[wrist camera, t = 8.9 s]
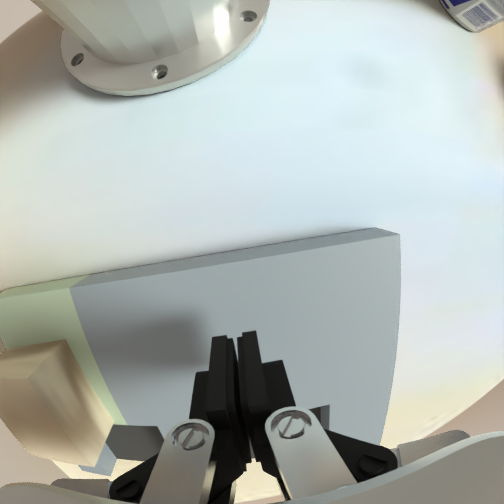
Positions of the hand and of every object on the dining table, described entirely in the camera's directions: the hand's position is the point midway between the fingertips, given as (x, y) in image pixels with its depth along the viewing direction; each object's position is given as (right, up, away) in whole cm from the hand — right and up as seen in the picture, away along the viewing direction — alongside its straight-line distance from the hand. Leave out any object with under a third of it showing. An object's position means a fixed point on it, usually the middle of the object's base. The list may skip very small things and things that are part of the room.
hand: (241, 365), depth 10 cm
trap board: (-3, -4, +5) cm, 8 cm away
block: (-12, -4, +2) cm, 12 cm away
